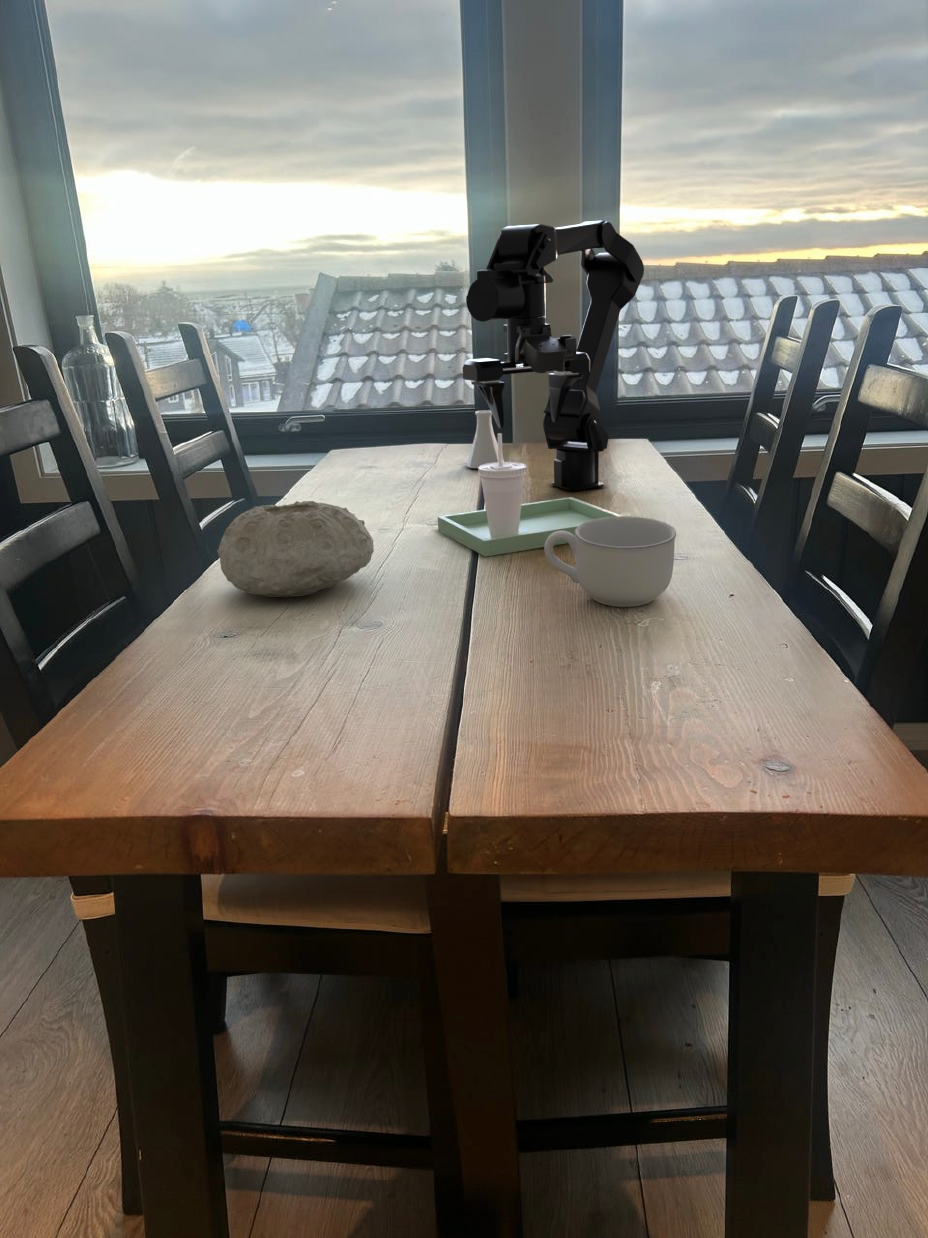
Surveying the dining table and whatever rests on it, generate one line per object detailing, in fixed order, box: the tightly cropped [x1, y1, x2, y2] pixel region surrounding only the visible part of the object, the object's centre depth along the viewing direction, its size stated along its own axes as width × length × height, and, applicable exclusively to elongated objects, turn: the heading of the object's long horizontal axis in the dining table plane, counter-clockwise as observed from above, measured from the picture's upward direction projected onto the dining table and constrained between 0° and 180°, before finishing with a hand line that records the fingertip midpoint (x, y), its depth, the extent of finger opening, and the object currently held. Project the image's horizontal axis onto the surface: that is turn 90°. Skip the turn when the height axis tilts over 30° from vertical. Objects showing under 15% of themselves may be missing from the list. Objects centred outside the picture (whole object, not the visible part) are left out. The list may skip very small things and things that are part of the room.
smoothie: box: [477, 432, 528, 538], centre depth 132 cm, size 6×6×14 cm
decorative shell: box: [216, 500, 375, 598], centre depth 117 cm, size 18×18×10 cm
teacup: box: [543, 515, 677, 608], centre depth 109 cm, size 14×11×8 cm
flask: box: [465, 409, 505, 469], centre depth 183 cm, size 7×7×10 cm
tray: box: [437, 496, 623, 558], centre depth 138 cm, size 22×16×2 cm
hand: (528, 424), depth 151 cm, fingers open, 9 cm apart
